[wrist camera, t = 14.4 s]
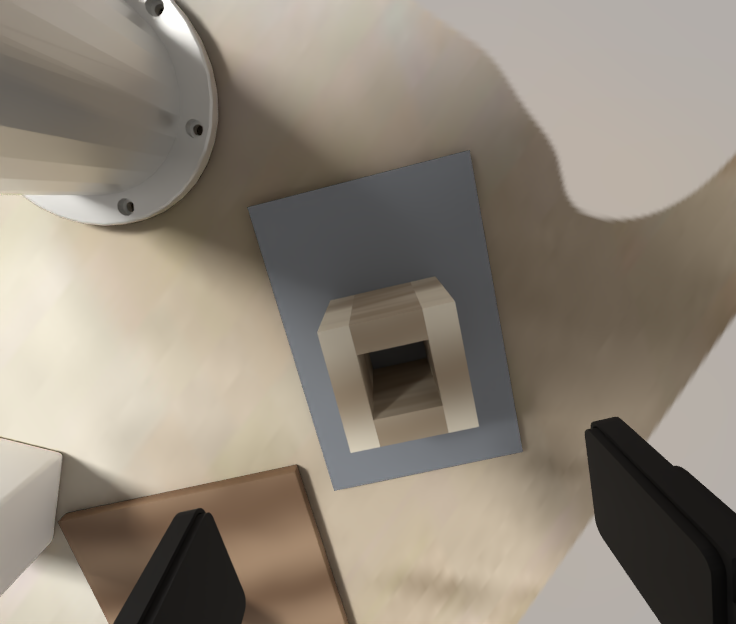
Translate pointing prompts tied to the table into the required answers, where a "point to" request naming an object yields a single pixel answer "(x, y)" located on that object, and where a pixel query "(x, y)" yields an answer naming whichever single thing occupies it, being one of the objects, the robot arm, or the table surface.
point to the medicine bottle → (25, 505)
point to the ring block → (397, 365)
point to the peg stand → (241, 538)
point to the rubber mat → (385, 269)
